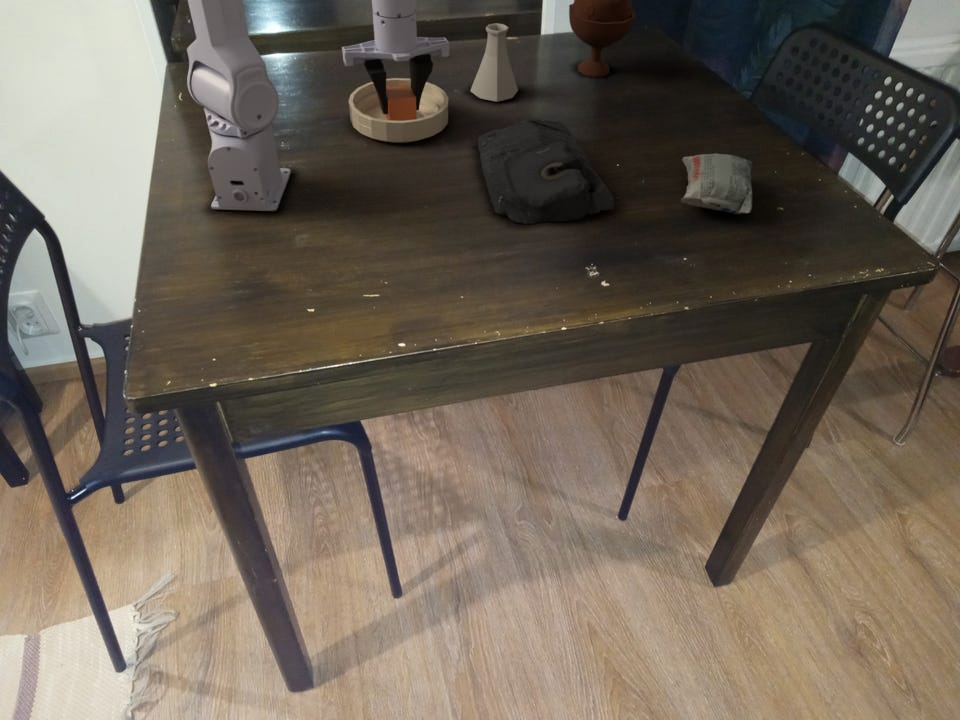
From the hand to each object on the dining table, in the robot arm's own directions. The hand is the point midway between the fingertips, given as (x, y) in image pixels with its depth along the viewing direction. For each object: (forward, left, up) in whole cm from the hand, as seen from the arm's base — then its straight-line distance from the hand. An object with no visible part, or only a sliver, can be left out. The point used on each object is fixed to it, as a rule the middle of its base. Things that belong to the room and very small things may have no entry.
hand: (399, 109), depth 101 cm
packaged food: (-18, -42, -2) cm, 46 cm away
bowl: (0, 0, -2) cm, 2 cm away
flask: (+11, -14, -2) cm, 18 cm away
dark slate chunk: (-14, -20, -2) cm, 25 cm away
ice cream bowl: (+21, -31, -2) cm, 38 cm away
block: (0, 0, -1) cm, 1 cm away
